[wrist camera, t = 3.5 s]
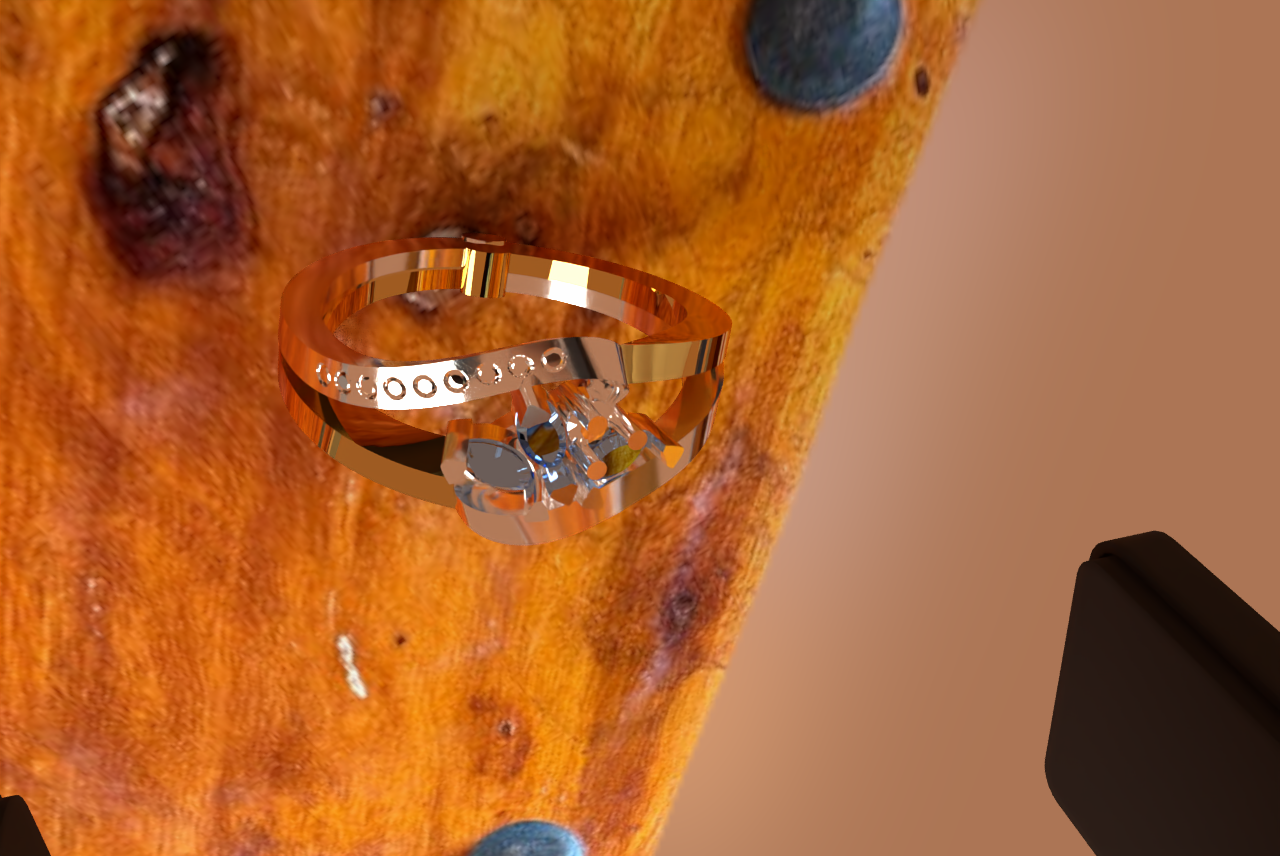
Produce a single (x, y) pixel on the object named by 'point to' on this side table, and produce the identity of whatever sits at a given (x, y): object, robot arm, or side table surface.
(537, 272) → the ring
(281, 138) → the side table surface
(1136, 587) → the robot arm
